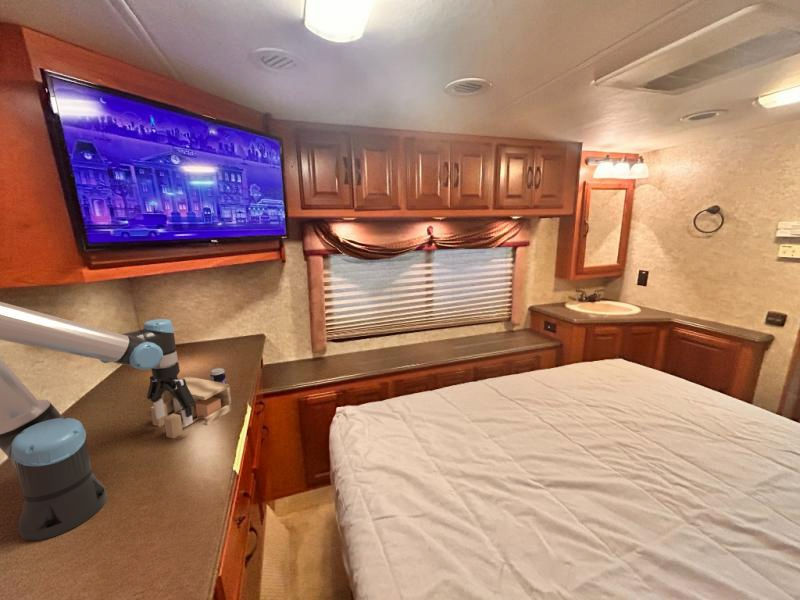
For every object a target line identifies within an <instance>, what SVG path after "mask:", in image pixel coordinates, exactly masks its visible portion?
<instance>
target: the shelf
mask: <svg viewBox="0 0 800 600" xmlns="http://www.w3.org/2000/svg"><path fill="white" fill-rule="evenodd" d="M181 379H185V381H186V385H187V387H188V389H189V391H190V393H191V395H192V397H193V399H194V401H195V403H196V402H198V401H200V400H206V399H208V398H210V397H216V398H220V400H221V409H219V410H217V411H216V412H214V413H212V414H211V415H209V416H207V417H205V418H204V419H203V420H204V424H205V425H210V424H211V423H213V422H215V421H216V420H217V419H219V418H221V417H223V416H225V415H226V414H227V413H229V412H231V411H232V410H233V406H232V398H231V396H232V395H231V386H230V384H229V383H226V384H225V383H220V382H215V381H211V379H210V380H209V379H204V378H199V377H192V376H185V377H182V378H180V379H179V380H181ZM176 389H177V387H176ZM174 390H175V389H174ZM174 397H175V396H174V395H173V394H171V393H170V392H169V391H166V390H165V391H164V392H163V394H162V398H161V399H163V404H165V405H166V406H167V413H168V414H171V413H172V412H175V410H174V403H173V398H174ZM180 408H181V409H182V408H183V407H182V406H181V404H180ZM191 409H192V419H193V418H195V417H197V414H196V406H195V405H194V406H192V407H191ZM180 416H181V419H183V417H182V410H181V413H180Z"/></svg>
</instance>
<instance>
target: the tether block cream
mask: <svg viewBox="0 0 800 600" xmlns="http://www.w3.org/2000/svg"><path fill="white" fill-rule="evenodd" d="M173 403H174V411H173V413H172V412H171V413H167V406H166V405H165V404H163V405H164V411H165V416H163V417H162V418H160V419H158V420H157V419H156V415H155V410H154V405H152V406H151V407H150V414H151V421H152V426H155V427H161V426H163V425H165V423H164V418H166V417H168V416H170V415H172V414H181V408H180V403H179V402H178V400H177V399H176V398H175V397H174V398H173Z"/></svg>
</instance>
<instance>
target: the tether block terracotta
mask: <svg viewBox="0 0 800 600" xmlns="http://www.w3.org/2000/svg"><path fill="white" fill-rule="evenodd" d="M195 406H196V414H197V416H196V418H194V419H193V423H194V422H196V421H197V420H199V419H203V420H205V419H204V418H205V417H207V416H209V415H211V414H212V413H214V412H216V411H217V410H219V409H221V400H220V398H216V397H210V398H208V399H206V400H200V401H198V402H196V405H195ZM171 414H172V413H171ZM169 415H170V414H169ZM164 423H165V424H164V430H165V436H166V437H167V438H170V439H176V438H177V437H179V436H180V435H182V434H183V433H184V431H183V429H184V428H186V427H185V426H184V425H182V424H183V423H182V415H181V414H178V413H176V414H172V415H170V416H168V417H166V418H164Z"/></svg>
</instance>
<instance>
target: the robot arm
mask: <svg viewBox="0 0 800 600" xmlns="http://www.w3.org/2000/svg"><path fill="white" fill-rule="evenodd" d="M175 339H176V338H175V330H174V326H173V323H172V321H171V320H170V319H167V318H155V319H151V320H148V321H145V322H144V323H143V327H142V329H140V330H133V331H130V332H129V331H128V332H125V333H117V332H114V331H110V330H106V329H103V328H99V327H95V326H92V325H88V324H86V323H81V322H78V321H74V320H70V319H66V318H62V317H59V316H55V315H51V314H48V313H43V312H39V311H36V310H33V309H30V308H29V309H28V308H25V307H21V306H18V305H13V304H10V303H6V302H2V301H0V340H1V341H4V342H10V343H15V344H20V345H25V346H30V347H36V348H40V349H45V350H50V351H54V352H55V351H56V352H60V353H64V354H65V353H66V354H70V355H76V356H80V357H85V358H90V359H96V360H99V361H100V362H101V363H103V364H108V363H114V364H118V365H124V366H128V367H132V368H134V369H136V370H141V371H148V370H151V376H150V377H149V386H148V391H147V396H146V398H147V400H150V401H151V402H152V404H153V405H152V406H154V410H155V415H156V419H157V420H158V419H160V418H162V417H163V416H165V411H164V405H163V399H162V394H163V392H164V391H165V390H166V391H169V392H170V393H171V394H173V395H174V396H175V398H176V399H177V400H178V402H179V403H180V404H181V406H182V407H183V408H182V409H181V410H182V415H181V418H182V417H183V418H182V422H183V423H182V424H183V426H185V427H184V428H186V427H187V426H189V425H191V424H193V423H194V422H193V420H194V419H193V418H192V409H191V407H192V406H194V405H196V403H195V401H194V399H193V397H192V395H191V393H190V391H189V389H188V387H187V385H186V381H185V379H182V378H180V379H181V380H180V379H179V378H178V375H179V373H180V372H181V371H180V364H179V362H178V361H179V359H178V352H177V347H176V340H175ZM176 387H177V389H176ZM174 389H175V390H174ZM0 450H1V451H2V452H3V453H4V454H5V455H6V456H7V458H8V460H9V461H10V463H11V464H12V466H13V467H14V469H15V471H16V473H17V476H18V482H19V485H20V487H21V492H22V495H23V500H24V501H23V506H22V510H21V512H20V513H21V514H20V516H19V517H20V518H19V521H18V527H17V528H18V531H19V535H20V538H22V539H23V540H26V541H31V542H32V541H42V540H47V539H50V538H54V537H57V536H59V535H61V534H64V533H66V532H68V531H70V530H73V529H74V528H76V527H78V526H80V525H82V524H83V523H85V522H86V521H89V519H90V518H92V517H93V516H95V515H96V513H98V512H99V511H100V510H101V509H102V508H103V507H104V505H105V504H106V502H107V499H108V498H107V497H108V495H107V489H106V487H105V485H103V483H102V481H100V480H99V479H98V477H97V476H95V475H96V474H94V473H93V469H92V464H91V458H90V452H89V448H88V443H87V431H86V429H85V428H84V425H83V423H82V422H81V421H80V420H78V419H76V418H73V417H66V418H64V416H63V415H62V414H61V413H60V412H59V410H58V409H56V407H55V406H54V405H53V404H52V403H51V402H50V400H48V399H37V398H36V397H35V395H34V394H33V393H32V391H30V389H28V387H27V386H26V385H25V384H24V382H22V380H21V379H20V378H19V377H18V375H17V374H15V372H14V371H13V370H12V368H11V367H9V366H8V364H7V363H6V362H5V360H3V358H2V357H1V356H0Z"/></svg>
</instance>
